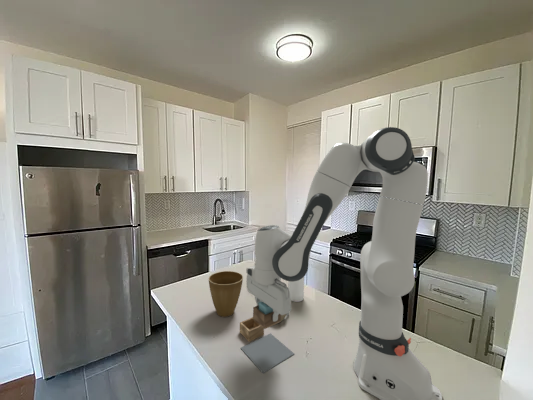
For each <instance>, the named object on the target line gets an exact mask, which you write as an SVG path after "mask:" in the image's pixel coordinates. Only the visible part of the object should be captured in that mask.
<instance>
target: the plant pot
mask: <svg viewBox="0 0 533 400" xmlns="http://www.w3.org/2000/svg"><path fill="white" fill-rule="evenodd" d="M243 281H244V276H243V274H242V273H240V272H239V271H238V272H237V271H232V270H231V271H230V270H225V271H224V270H223V271H219V272H214V273H212V274H211V275H210V276H208V284H209V292H210V297H211V300H212V304H213V306H214V309H215V312H216V314H217V315H218V316H219V317H223V318H227V317H230V316H232V315H233V314H234V313H235V310H236V309H237V308H236V307H237V305H238V302H239V299H240V296H241V290H242V286H243Z"/></svg>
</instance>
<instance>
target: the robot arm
mask: <svg viewBox="0 0 533 400" xmlns="http://www.w3.org/2000/svg"><path fill="white" fill-rule="evenodd" d="M412 146H413V145H412V141H411V138H410V136H409V135H408V133H407V132H406V131H404V130H403V129H401V128H398V127H393V126H387V127H383V128H379V129H378V130H376V131H374V132H373V133H372V134H371V135H369V136H367V138H366V139H365V140H363V142H362V143H360V144H359V145H355V144H351V143H348V142H338V143H335V145H333V146H332V147H331V148H330V150H328V153H326V155H325V157H324V158H323V159H322V161H321V163H320V164H319V166H318V168H317V170H316V172H315V174H314V175H313V179H312V181H311V184H310V187H309V190H308V194H307V198H306V203H305V206H304V211H303V212H302V216H301V217H300V218H299V221H298V223H297V225H296V226H295V229H294V231H293V233H289V232H287V231H285V230H284V229H283V228H281V226H279V225H273V224H272V225H266V226H263V227H261V228H259V229H258V230H257V231H256V234H255V240H254V255H255V261H254V265H253V266H249V267H246V289H247V291H248V292H249V293H250V294H251V295H253V296H254V300H255V303H256V306H258V305H259V302H264V303H265V304H267V305H268V306H269V307H271V308H272V309H273V312H274V314H272V315H271V320H273V321H274V322H275V321H277V320H278V315H279V314H281V315H284V314H287V313H289V314H290V312H291V311H292V301H291V296H290V291H289V289H288V285H287V283H286V282H283V281H287V282H288V281H298V280H300V279H302V278H303V277H304V278H305V276H306V275H307V273H308V270H309V263H310V257H311V251H312V249H313V246H314V244H315V242H316V241H317V238H318V236H319V234H320V232H321V230H322V228H323V226H324V225H325V223H326V221H327V220H328V218H330V216H331V215H332V214H333V213H334V211H335V210H336V209H337V208H338V207H339V206H340V204H341V203H342V202H343V200H344V199H345V198H346V196H347V194H348V193H349V191H350V190H351V187H352V185H353V184H354V182H355V180H356V178H357V176H359V174H360V173H361V172H368V173H380V175H381V178H382V186H381V190H380V194H379V198H378V202H377V206H376V209H375V212H374V217H373V220H372V235H371V240H370V241H368V242H366V243H365V244H364V245H363V247H362V248H361V251H360V261H359V262H360V289H361V290H360V291H361V292H360V293H361V306H360V309H361V310H360V320H359V323H358V324H359V325H358V338H359V341H358V347H357V351H356V355H355V359H354V361H353V365H352V366H353V370H354V373H355V374H356V376H357V379H358V381H357V382H358V383H357V384H358V387H359V388H360V389H362V390H364V392H367V393H369V394H370V395H372V396H373V397H375V398H377V399H379V400H443V394H442V391H441V390H440V389H439V388H438V387H437V386H436V385H435V384H434V383H433V380H432V375H431V373H430V371H429V369H428V368H427V367H426V366H425V365H424V364H423V362H421V360H420V359H419V358H418V357H417V356H416V355H415V353H414V352H413V351H412V350H411V349H410V348H409V346H410V344H411V343H412V338H411V337H409V338H408V339H407V338H406V337H405V334H404V332H403V318H404V315H403V314H404V305H403V300H402V297H403V296H406V295H407V294H409V293H410V292H411V291H412V290H413V288H414V286H415V280H416V279H415V272H414V261H415V250H416V249H415V248H416V236H417V231H418V227H419V222H420V219H421V216H422V212H423V207H424V205H425V201H426V195H427V189H428V182H429V181H428V180H429V172H428V169H427V168H426V166H424V165H423V164H421V163H419V162H417V161H415V159H416V157H415V155H414V154H415V153H414V151H413V147H412ZM282 280H283V281H282Z"/></svg>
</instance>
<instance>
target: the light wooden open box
mask: <svg viewBox="0 0 533 400" xmlns="http://www.w3.org/2000/svg"><path fill="white" fill-rule="evenodd" d="M239 333H240V335H242V336H243V337H244V338H245V339H246V341H248V342H249V343H251V342H253V340H254V341H255V340H257V339H259V338H261V337H263V336H264V335H265V329H264V328H263V327H262V326H261V325H259V324H258V323H257V322H256V321H255V320H254V319H253V316H252V317H249V318H248V319H245V320H242V321H241V322H239Z"/></svg>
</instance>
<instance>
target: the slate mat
mask: <svg viewBox="0 0 533 400" xmlns="http://www.w3.org/2000/svg"><path fill="white" fill-rule="evenodd" d="M277 338H278V337H275V336H274V335H273V334H272V333H268V334H266V335H265V336H264V335H263V336H261V337H259V338H257V339H255V340H254V341H251V342H249V343H248V344H245V345H244V346H241V347H240V350H242V352H243V353H244V354H245V355H246V356H247V358H248V359H249V360H250V361H251V362H252V363H253V365H255V366H256V368H257V369H258V370H259V371H260V372H261V373H262V374H265V373H267V372H268V371H270V370H271V369H273V368H274V367H276V366H278V365H280V364H281V363H283V362H285V361H286V360H288V359H289V358H291V357H293V356H294V355H295V353H294V352H293V351H292V350H291V349H290V348H289V347H288V346H286V345H285V343H283V342H281V341H280V340H279V339H277Z"/></svg>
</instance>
